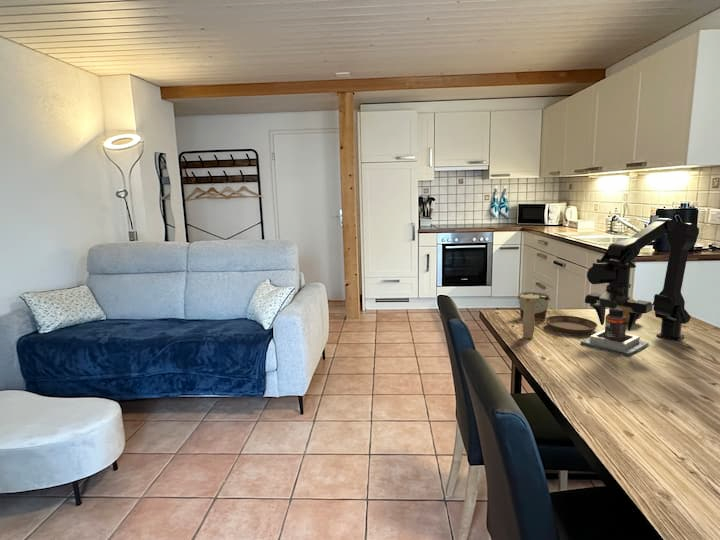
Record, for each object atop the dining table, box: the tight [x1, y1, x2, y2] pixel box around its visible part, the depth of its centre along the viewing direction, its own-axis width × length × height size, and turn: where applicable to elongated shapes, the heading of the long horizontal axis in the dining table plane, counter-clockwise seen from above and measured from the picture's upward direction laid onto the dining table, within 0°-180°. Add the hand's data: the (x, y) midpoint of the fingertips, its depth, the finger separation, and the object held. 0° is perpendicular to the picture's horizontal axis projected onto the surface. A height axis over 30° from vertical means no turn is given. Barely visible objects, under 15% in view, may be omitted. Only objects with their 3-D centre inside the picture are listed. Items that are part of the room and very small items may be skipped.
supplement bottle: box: [604, 308, 627, 342], centre depth 144 cm, size 6×6×11 cm
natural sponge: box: [616, 297, 643, 324], centre depth 168 cm, size 9×9×10 cm
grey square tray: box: [580, 328, 650, 358], centre depth 145 cm, size 15×15×3 cm
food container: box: [517, 291, 551, 321], centre depth 179 cm, size 12×6×10 cm, turn 71°
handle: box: [520, 295, 539, 339], centre depth 154 cm, size 5×6×15 cm
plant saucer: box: [544, 315, 598, 336], centre depth 163 cm, size 18×18×3 cm
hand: (615, 327), depth 144 cm, fingers open, 8 cm apart
